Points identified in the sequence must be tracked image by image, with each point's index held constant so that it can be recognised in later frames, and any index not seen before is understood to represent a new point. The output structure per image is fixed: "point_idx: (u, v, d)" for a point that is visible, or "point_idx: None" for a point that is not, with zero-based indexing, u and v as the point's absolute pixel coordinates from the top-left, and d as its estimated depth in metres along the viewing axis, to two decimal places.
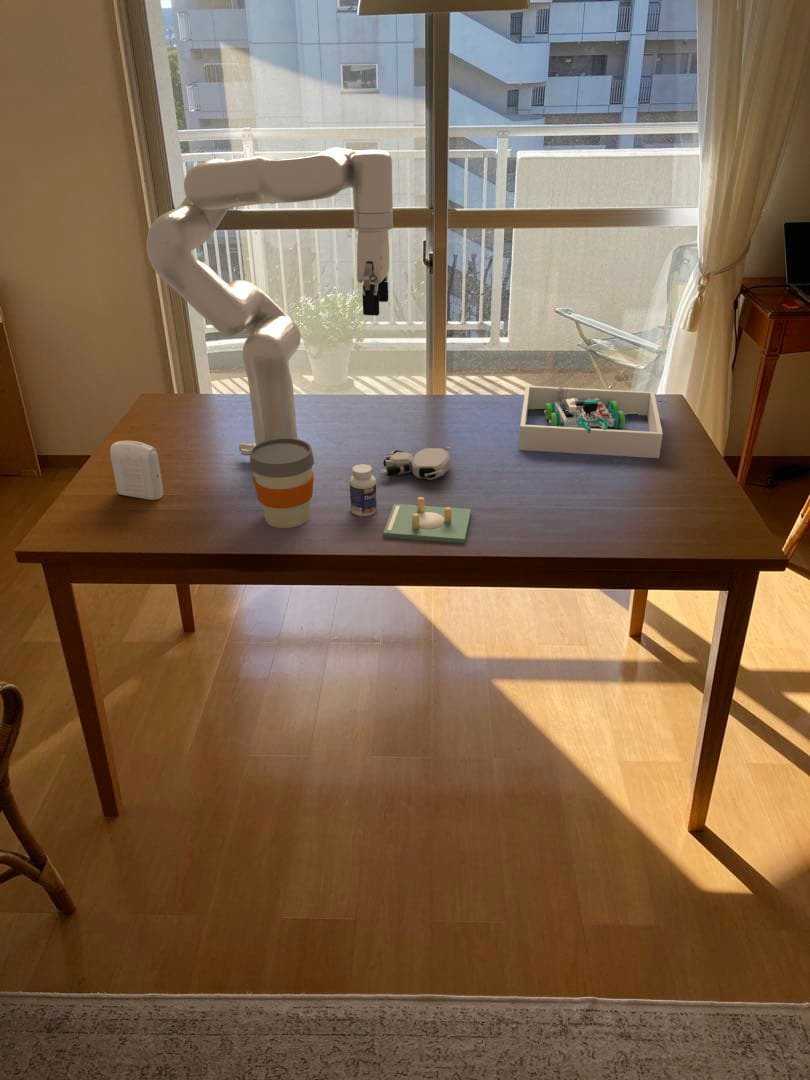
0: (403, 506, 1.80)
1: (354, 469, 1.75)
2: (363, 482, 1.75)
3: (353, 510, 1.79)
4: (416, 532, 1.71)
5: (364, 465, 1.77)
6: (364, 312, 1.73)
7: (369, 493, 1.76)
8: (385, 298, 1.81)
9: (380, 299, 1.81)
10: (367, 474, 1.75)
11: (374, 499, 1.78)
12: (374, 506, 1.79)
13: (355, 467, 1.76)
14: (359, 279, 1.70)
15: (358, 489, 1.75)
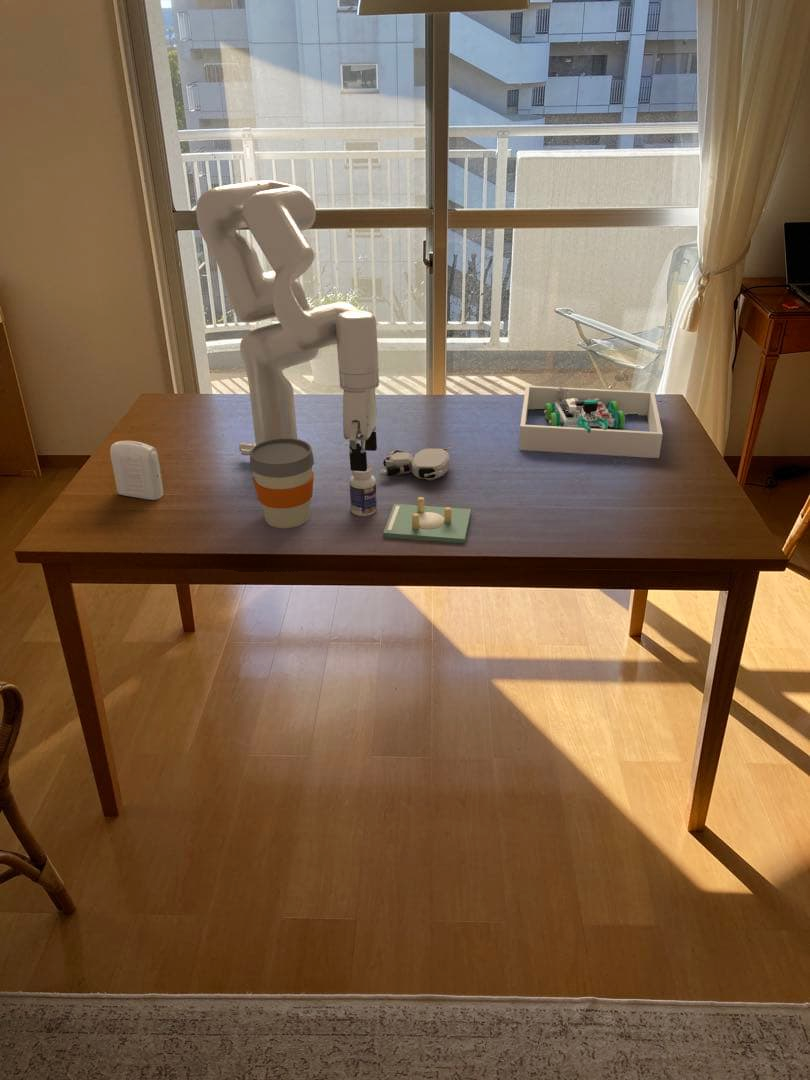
0: (403, 506, 1.80)
1: None
2: (363, 482, 1.75)
3: (353, 510, 1.79)
4: (416, 532, 1.71)
5: None
6: (351, 468, 1.70)
7: (369, 493, 1.76)
8: (373, 448, 1.78)
9: (368, 448, 1.78)
10: (367, 474, 1.75)
11: (374, 499, 1.78)
12: (374, 506, 1.79)
13: None
14: (345, 437, 1.67)
15: (358, 489, 1.75)
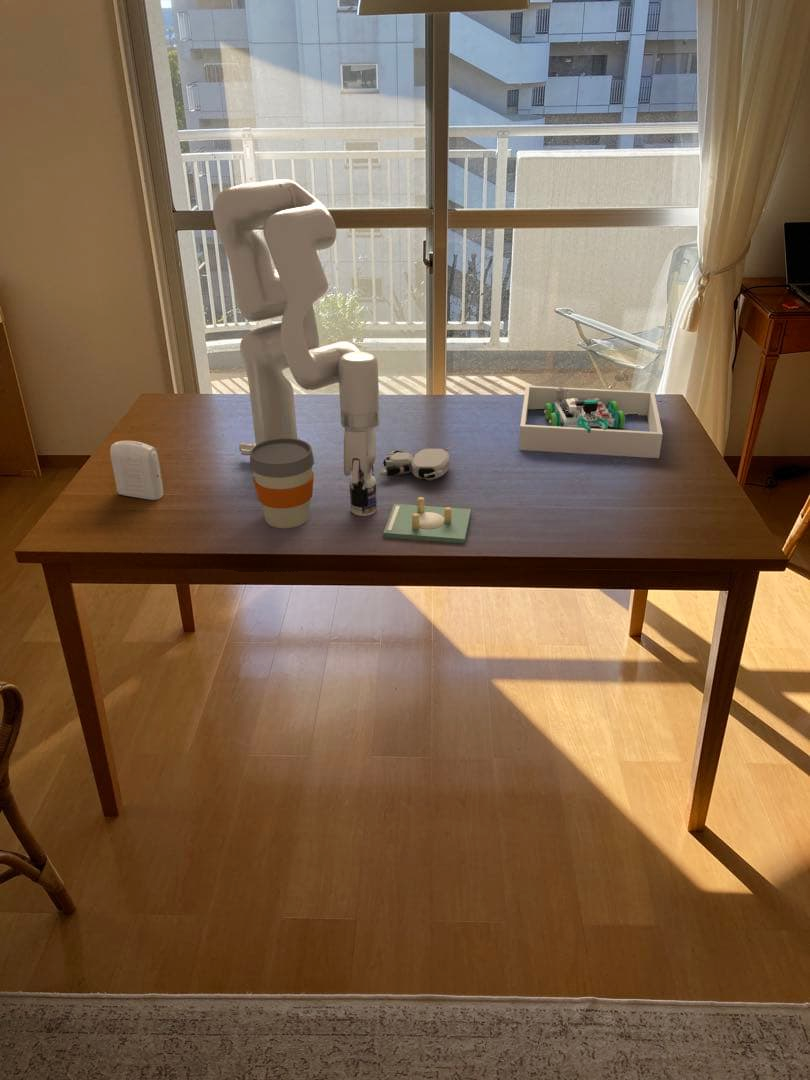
0: (403, 506, 1.80)
1: None
2: None
3: (353, 510, 1.79)
4: (416, 532, 1.71)
5: None
6: (353, 503, 1.76)
7: (369, 493, 1.76)
8: None
9: None
10: None
11: (374, 499, 1.78)
12: (374, 506, 1.79)
13: None
14: (346, 473, 1.71)
15: None
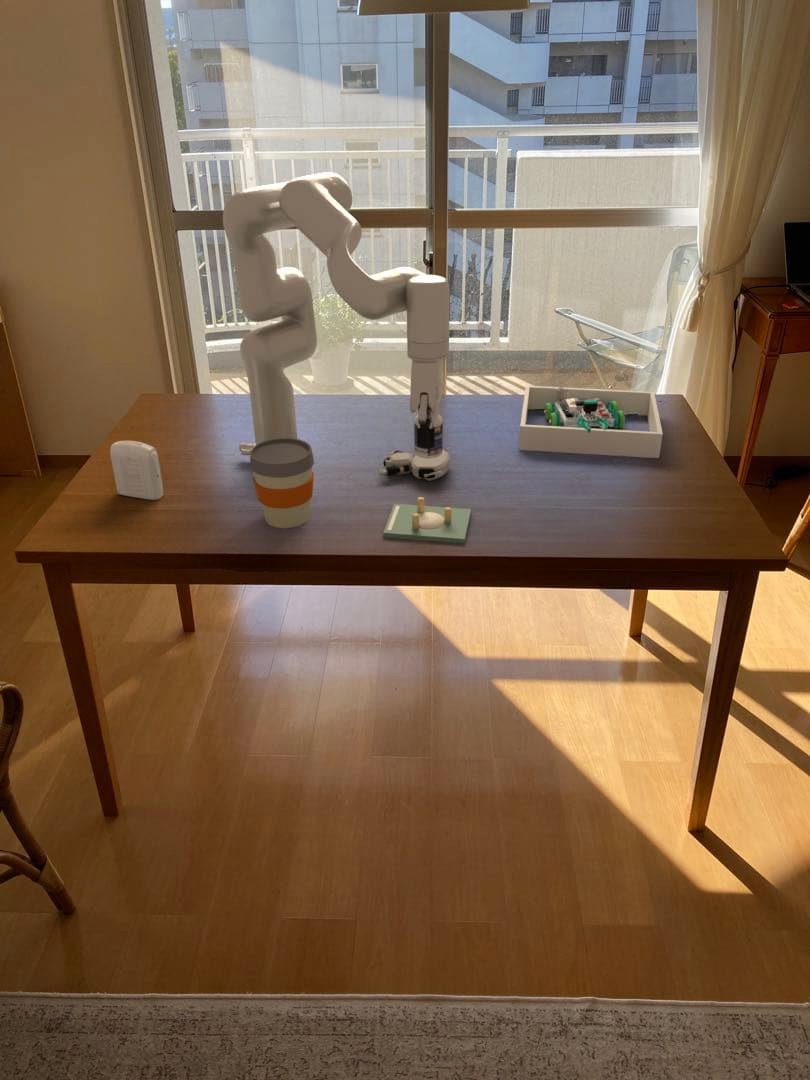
0: (403, 506, 1.80)
1: None
2: None
3: (417, 452, 1.65)
4: (416, 532, 1.71)
5: None
6: (418, 444, 1.63)
7: (436, 432, 1.62)
8: None
9: None
10: None
11: (441, 440, 1.64)
12: (440, 448, 1.65)
13: None
14: (412, 410, 1.58)
15: None
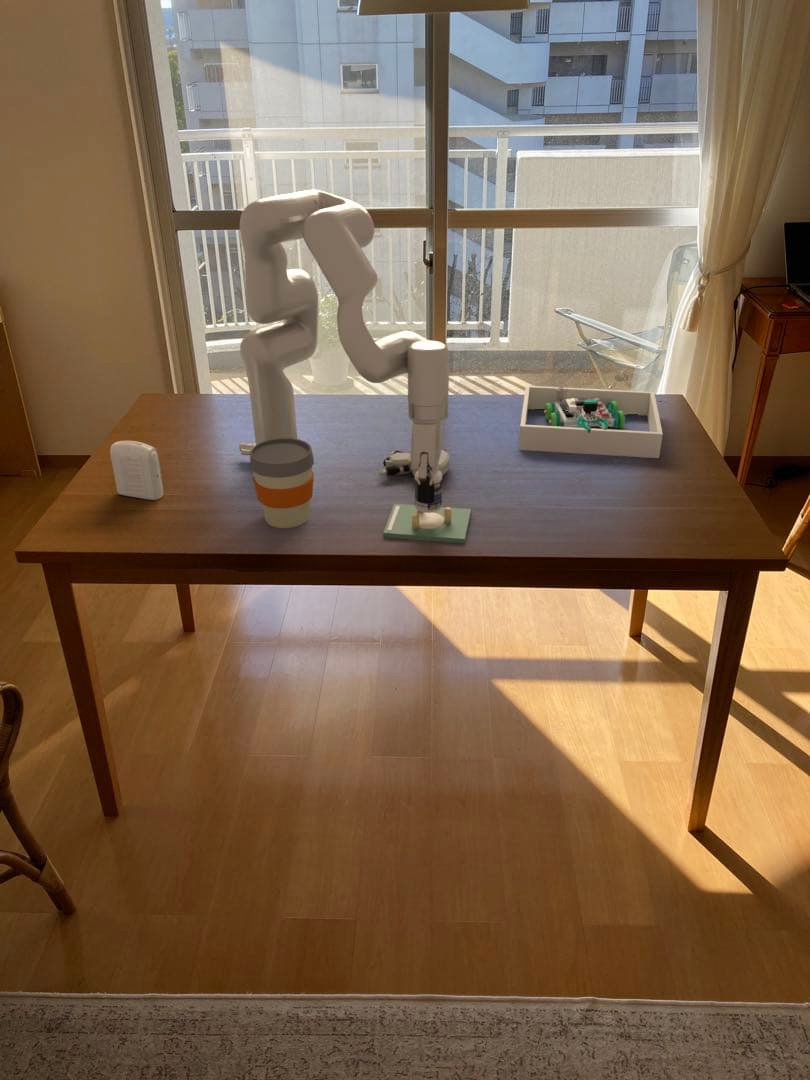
0: (403, 506, 1.80)
1: None
2: None
3: (418, 506, 1.71)
4: (416, 532, 1.71)
5: None
6: (419, 499, 1.69)
7: (436, 488, 1.69)
8: None
9: None
10: None
11: (440, 495, 1.70)
12: (440, 503, 1.71)
13: None
14: (413, 468, 1.64)
15: None
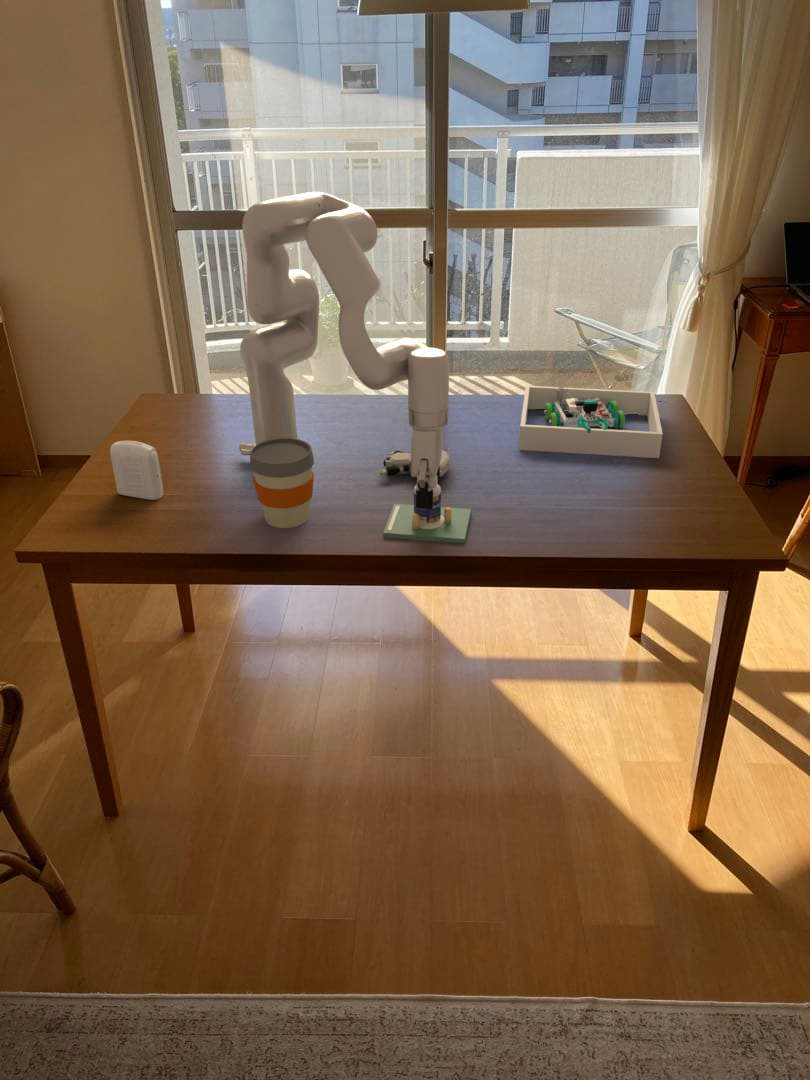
0: (403, 506, 1.80)
1: None
2: None
3: None
4: (416, 532, 1.71)
5: (429, 473, 1.71)
6: (417, 505, 1.68)
7: (435, 502, 1.70)
8: None
9: None
10: (433, 482, 1.69)
11: (439, 508, 1.72)
12: (438, 516, 1.73)
13: None
14: (413, 474, 1.65)
15: None
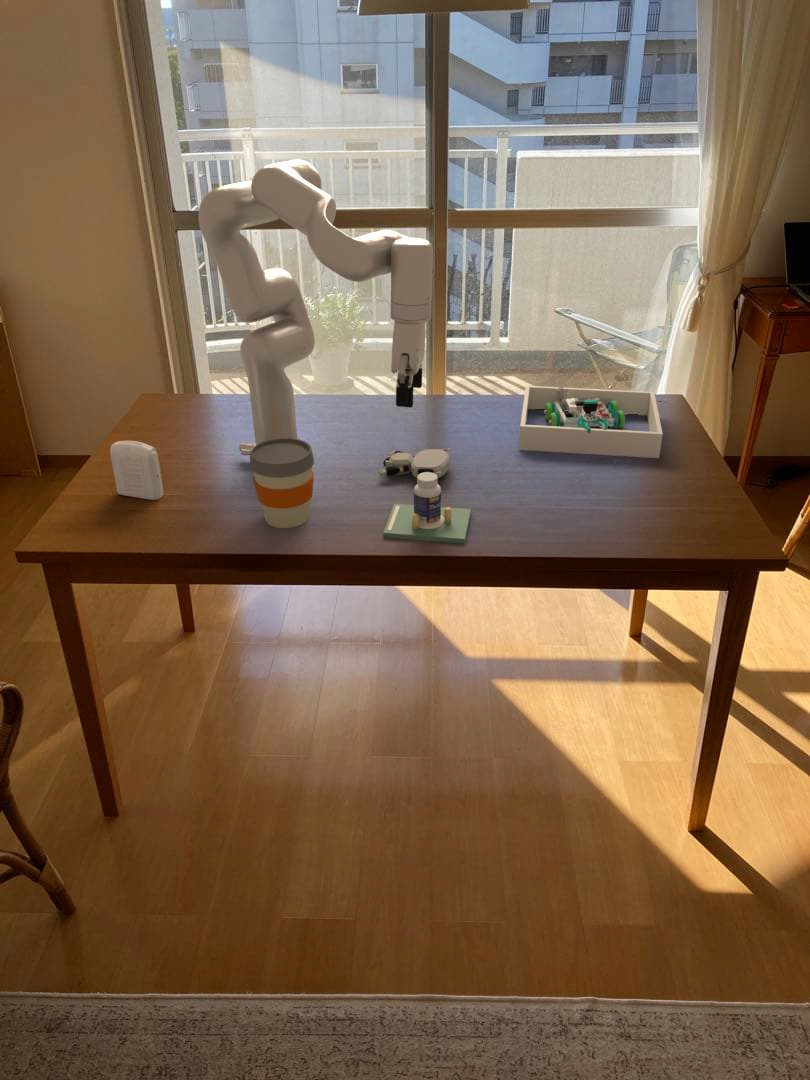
0: (403, 506, 1.80)
1: (419, 477, 1.69)
2: (429, 491, 1.69)
3: None
4: (416, 532, 1.71)
5: (429, 473, 1.71)
6: (397, 403, 1.65)
7: (435, 502, 1.70)
8: (418, 385, 1.73)
9: (413, 385, 1.73)
10: (433, 482, 1.69)
11: (439, 508, 1.72)
12: (438, 516, 1.73)
13: (420, 475, 1.70)
14: (393, 370, 1.62)
15: (423, 498, 1.69)
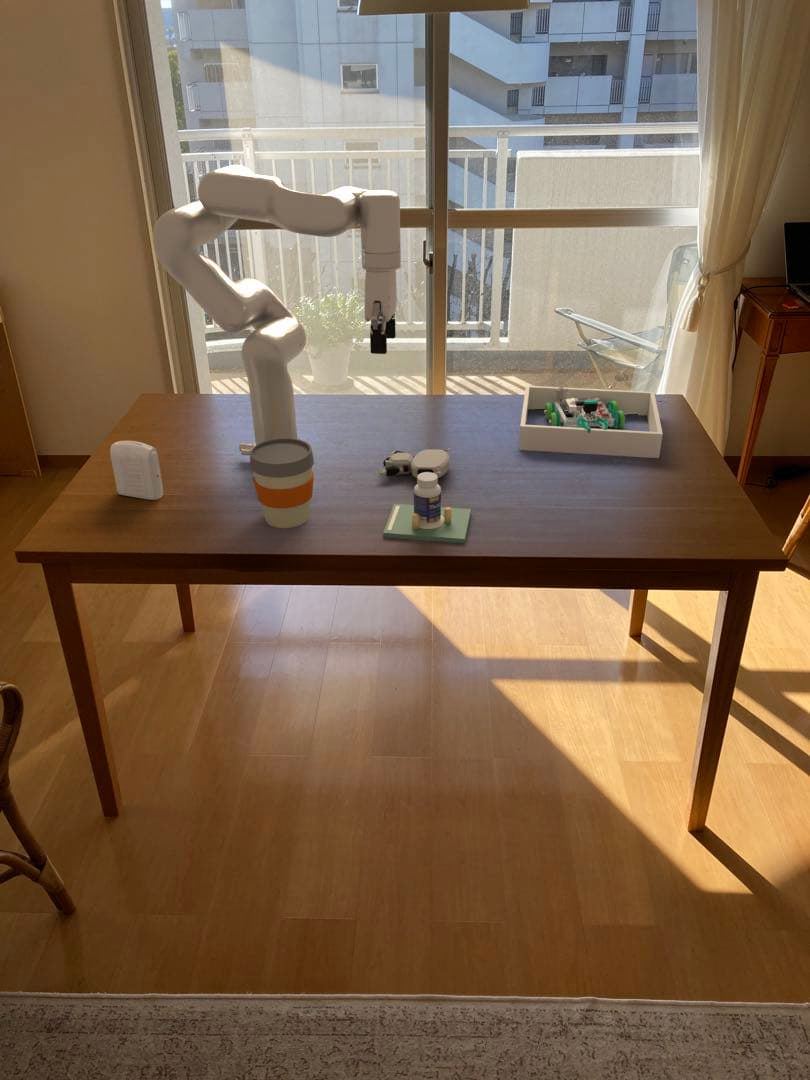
0: (403, 506, 1.80)
1: (419, 477, 1.69)
2: (429, 491, 1.69)
3: None
4: (416, 532, 1.71)
5: (429, 473, 1.71)
6: (371, 350, 1.73)
7: (435, 502, 1.70)
8: (392, 335, 1.81)
9: (387, 336, 1.81)
10: (433, 482, 1.69)
11: (439, 508, 1.72)
12: (438, 516, 1.73)
13: (420, 475, 1.70)
14: (367, 318, 1.70)
15: (423, 498, 1.69)
